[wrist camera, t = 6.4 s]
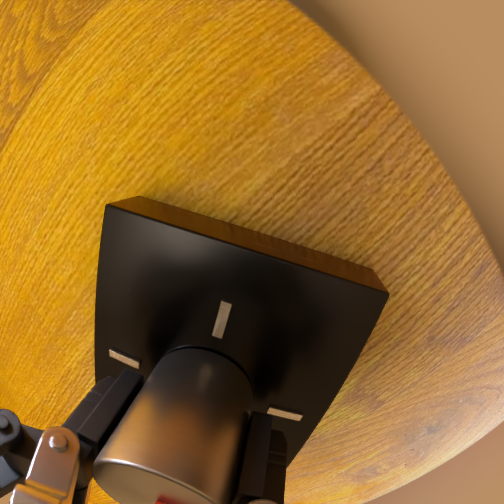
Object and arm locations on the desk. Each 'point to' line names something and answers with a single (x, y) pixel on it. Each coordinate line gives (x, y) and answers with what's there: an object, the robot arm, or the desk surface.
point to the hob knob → (179, 434)
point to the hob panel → (232, 307)
